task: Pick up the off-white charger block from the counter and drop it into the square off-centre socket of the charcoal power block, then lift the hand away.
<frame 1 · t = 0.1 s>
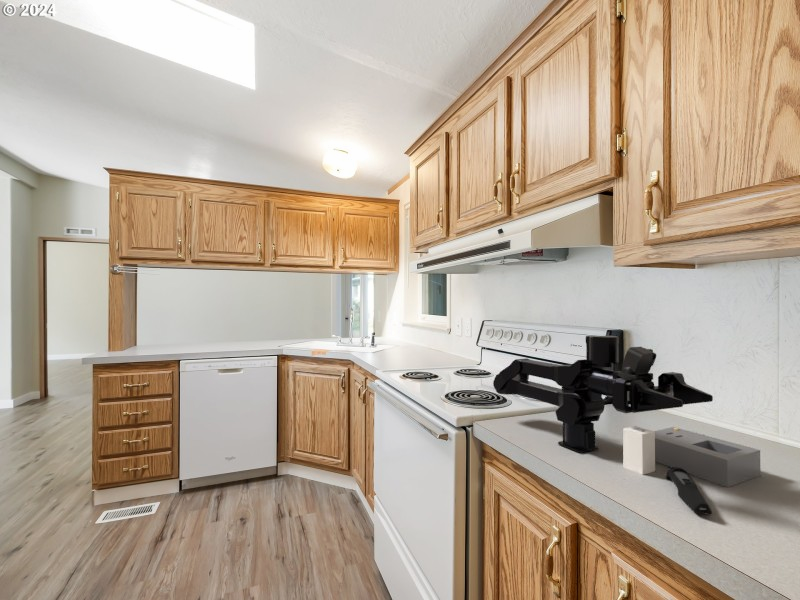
hand: (697, 401, 68), 17 cm above the worktop, tool horizontal, fingers open, 9 cm apart
electric trimmer: (689, 498, 67), on the worktop
charger: (639, 469, 78), on the worktop
power block: (697, 465, 80), on the worktop
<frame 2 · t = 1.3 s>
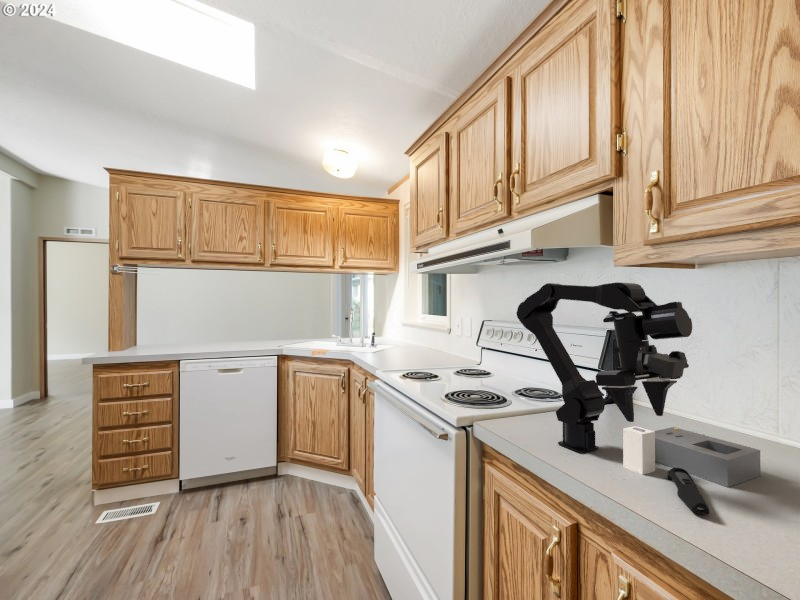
hand: (645, 418, 77), 11 cm above the worktop, tool pointing down, fingers open, 9 cm apart
nothing on the worktop moved.
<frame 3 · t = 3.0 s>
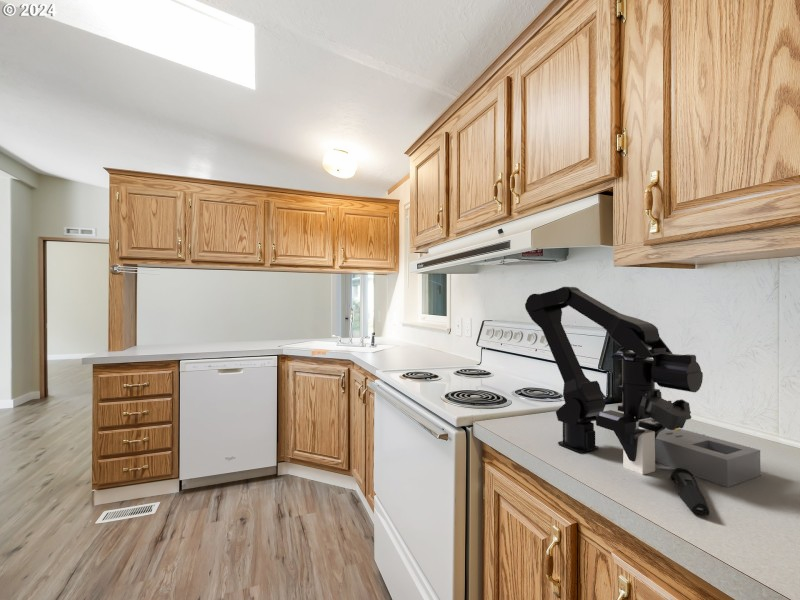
hand: (638, 459, 78), 2 cm above the worktop, tool pointing down, fingers closed on charger, 4 cm apart
charger: (639, 469, 78), on the worktop, touching gripper
everything else where it was.
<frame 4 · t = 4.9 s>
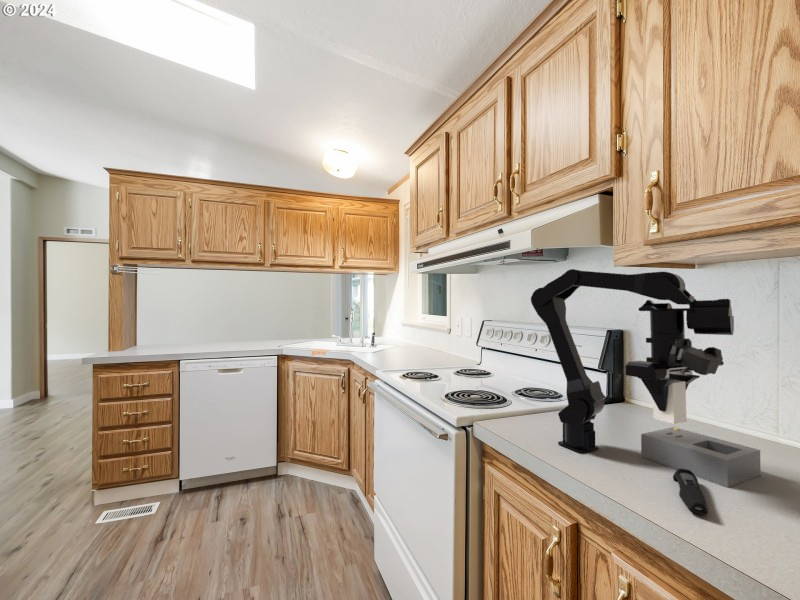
hand: (669, 409, 78), 12 cm above the worktop, tool pointing down, fingers closed on charger, 4 cm apart
charger: (669, 420, 78), point 10 cm above the worktop, touching gripper
everything else where it was.
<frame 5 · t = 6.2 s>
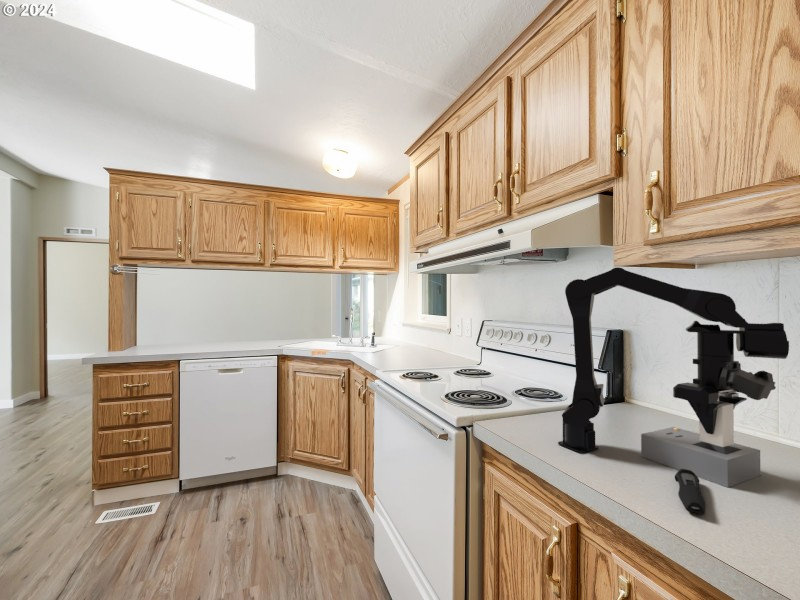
hand: (715, 432, 77), 8 cm above the worktop, tool pointing down, fingers closed on charger, 4 cm apart
charger: (716, 442, 77), point 6 cm above the worktop, touching gripper
everything else where it was.
when the fingers open (6 cm above the worktop, at t = 6.9 s): charger drops 2 cm, resting on power block.
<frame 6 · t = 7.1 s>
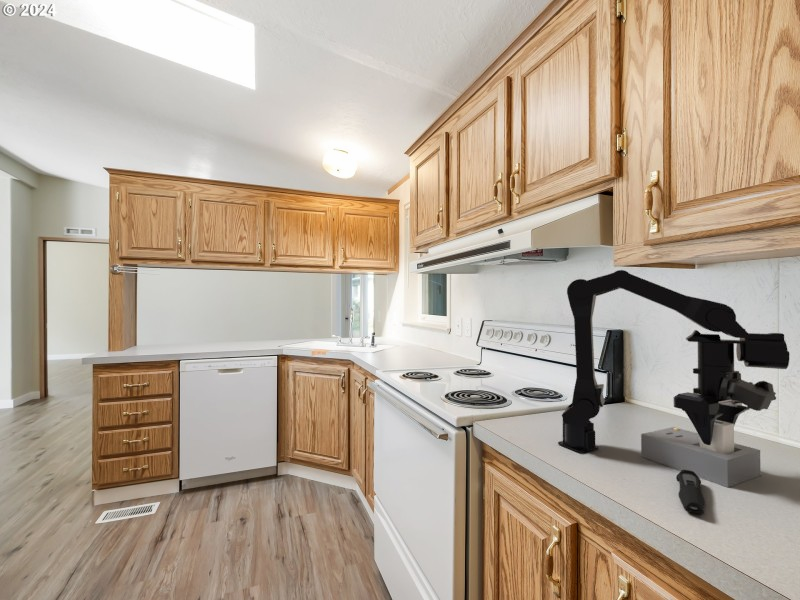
hand: (716, 442, 77), 6 cm above the worktop, tool pointing down, fingers open, 6 cm apart
charger: (716, 462, 77), point 2 cm above the worktop, touching power block
everything else where it was.
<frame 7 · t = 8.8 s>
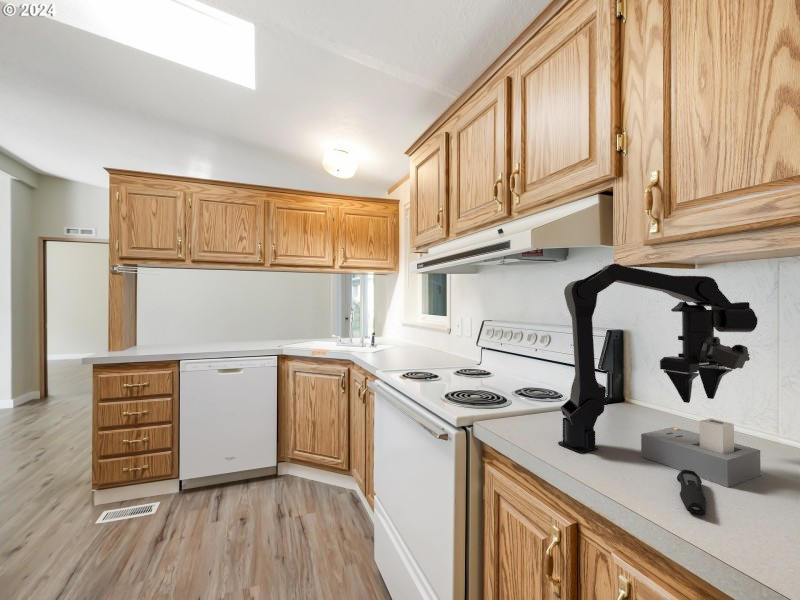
hand: (698, 400, 87), 12 cm above the worktop, tool pointing down, fingers open, 9 cm apart
nothing on the worktop moved.
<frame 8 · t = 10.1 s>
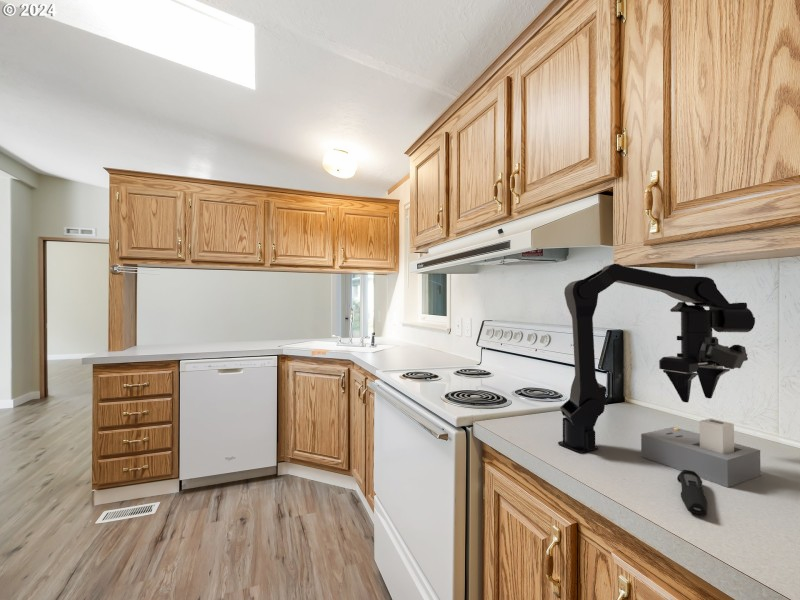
hand: (697, 400, 87), 12 cm above the worktop, tool pointing down, fingers open, 9 cm apart
nothing on the worktop moved.
at the end: charger 0.1 cm from the target spot on the power block, point 2.0 cm above the power block's base; charger tilted 0°; the gripper is holding nothing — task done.
